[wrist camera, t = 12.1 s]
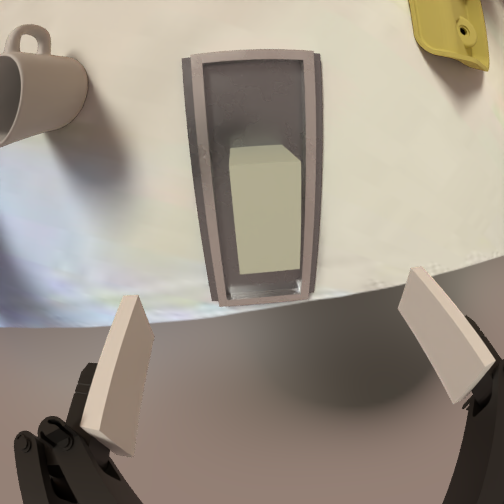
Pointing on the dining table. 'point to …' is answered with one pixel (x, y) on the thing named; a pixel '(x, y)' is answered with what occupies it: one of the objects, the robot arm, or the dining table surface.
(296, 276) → the tray
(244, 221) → the block
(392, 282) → the dining table surface
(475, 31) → the plastic component
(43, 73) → the mug
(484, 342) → the robot arm
